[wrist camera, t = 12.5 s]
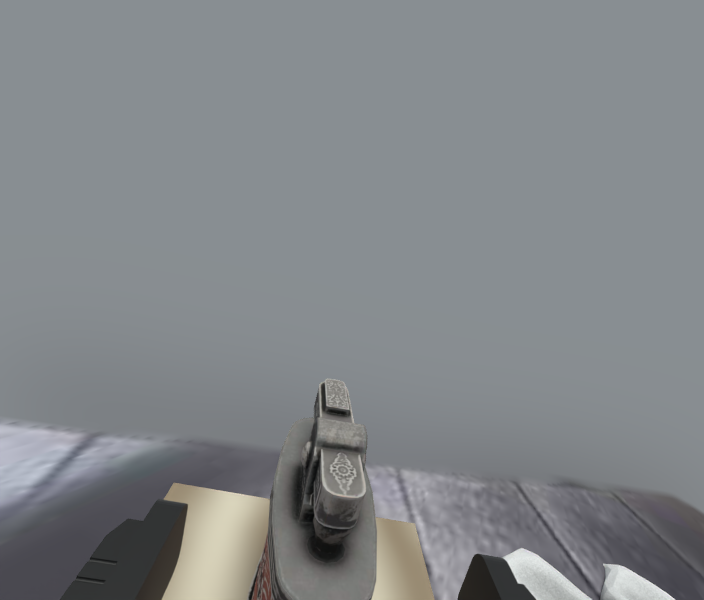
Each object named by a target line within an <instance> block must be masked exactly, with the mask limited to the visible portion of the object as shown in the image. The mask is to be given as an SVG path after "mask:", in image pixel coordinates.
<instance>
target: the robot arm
mask: <svg viewBox="0 0 704 600" xmlns="http://www.w3.org/2000/svg"><path fill="white" fill-rule="evenodd" d="M187 510H188V504H186V503H180V502H174V501H168V500H162V499H158V500H157V501H156V502H155V504H154V505H153V507H152V508H151V510H150V511H149V513H148V514H147V516H146V518H145V519H144V521H139V520H133V519H127V520H126V521H124V522H123V523H122V524H120V525H119V526H118V527H117V528H115V529H114V530H113V531H111V532H110V533H109V534H108V535H106V537H105V538H104V539H103V541H102V542H101V543H100V545H99V546H98V548H97V549H96V550H95V552H94V553H93V555H92V556H91V557H90V560H89V562H87V563H86V564H85V566H84V567H83V568H82V570H81V571H80V572H79V574H78V575H77V578H76V580H75V581H73V582H72V584H71V585H70V586H69V588H68V589H67V590H66V592H65V593H64V595H63V596H62V597H61V599H60V600H162V598H163V595H164V593H165V591H166V589H167V587H168V584H169V582H170V580H171V578H172V575H173V573H174V570H175V568H176V565H177V562H178V558H179V555H180V551H181V546H182V540H183V534H184V528H185V522H186V516H187ZM458 600H536V599H535V597H534V596H533V595H532V594H531V593H530V591H529V590H528V589H527V588H526V586H525V585H524V584H519V583H518V582H517V580H516V578H515V576H514V574H513V572H512V570H511V568H510V566H509V564H508V563H507V561H506V560H505V559H503V558H499V557H493V556H487V555H481V554H476V555H474V557H473V559H472V561H471V564H470V566H469V569H468V572H467V574H466V577H465V579H464V582H463V584H462V587H461V590H460V592H459V595H458Z"/></svg>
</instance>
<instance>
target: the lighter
mask: <svg viewBox="0 0 704 600" xmlns="http://www.w3.org/2000/svg"><path fill="white" fill-rule="evenodd" d="M366 449H367V432H366V428H365V426H364V425H361V424H355V423H354V420H353V415H352V409H351V404H350V398H349V393H348V390H347V388H346V387H345V384H344V383H343V382H342V381H339V380H333V379H326V380H325V382H322V383H320V385H319V389H318V393H317V397H316V401H315V405H314V418H304V419H301V420H299V421H296V422H295V423H294V424H293V425H292V427H291V429H290V431H289V434H288V436H287V438H286V441H285V442H284V445H283V447H282V450H281V454H280V458H279V462H278V466H277V470H276V474H275V478H274V482H273V486H272V491H271V495H270V505H269V522H268V532H267V537H266V541H265V545H264V549H263V552H262V554H261V557H260V560H259V562H258V565H257V568H256V571H255V573H254V576H253V579H252V581H251V584H250V588H249V592H248V596H247V600H371V599H372V596H373V592H374V588H375V584H376V574H377V526H376V517H375V509H374V500H373V492H372V488H371V485H370V482H369V478H368V475H367V471H366V468H365V461H366Z"/></svg>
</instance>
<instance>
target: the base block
mask: <svg viewBox="0 0 704 600" xmlns="http://www.w3.org/2000/svg"><path fill="white" fill-rule="evenodd" d="M164 500H168V501H174V502H180V503H186V504H188V510H187V516H186V522H185V528H184V534H183V540H182V546H181V551H180V555H179V558H178V562H177V565H176V568H175V570H174V573H173V575H172V578H171V580H170V582H169V584H168V587H167V589H166V591H165V593H164V595H163V598H162V600H247V596H248V592H249V588H250V584H251V581H252V579H253V576H254V573H255V571H256V568H257V565H258V562H259V560H260V557H261V554H262V552H263V549H264V545H265V541H266V537H267V532H268V522H269V505H270V499H266V498H260V497H255V496H249V495H243V494H237V493H231V492H225V491H219V490H213V489H208V488H202V487H196V486H190V485H184V484H178V483H173V485H172V487H171V488H170V490H169V492H168V493H167V495H166V497H165V498H164ZM376 526H377V574H376V584H375V588H374V592H373V596H372V599H371V600H434V596H433V592H432V589H431V585H430V581H429V577H428V573H427V569H426V565H425V562H424V558H423V554H422V550H421V546H420V542H419V538H418V535H417V531H416V527H415V524H413V523H407V522H401V521H396V520H390V519H384V518H378V517H376Z"/></svg>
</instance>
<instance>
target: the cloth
mask: <svg viewBox="0 0 704 600" xmlns="http://www.w3.org/2000/svg"><path fill="white" fill-rule="evenodd" d="M502 558H503V559H505V560H506V561H507V563H508V564H509V566H510V568H511V570H512V572H513V574H514V576H515V578H516V580H517V582H518V583H519V584H524V585H525V586H526V588H527V589H528V590H529V591H530V593H531V594H532V595H533V596H534V597H535V599H536V600H592V599H591V598H589V597H588V596H587V595H585V594H584V593H583V592H582V591H580V590H579V589H578V588H577V587H576V586H575V585H573V584H572V583H571V582H570V581H569V580H568V579H566V578H565V577H564V576H563V575H562V574H561V573H560V572H558V571H557V570H556V569H555V568H554V567H552V566H551V565H550V564H548V563H547V562H546V561H545V560H543V559H542V558H541V557H539V556H538V555H537V554H535V553H532V552H530V551H528V550H526V549H523V548H521V549H518V550H516V551H515V552H513V553H511V554H509V555H507V556H504V557H502ZM603 565H604V567H605V577H606V578H605V582H604V585H603V589H602V592H601V598H600V600H675V599H674V598H673V597H671V596H670V595H669V594H667V593H666V592H664V591H663V590H661V589H660V588H658V587H657V586H655V585H654V584H652V583H651V582H649V581H647V580H646V579H644V578H642V577H641V576H639V575H637V574H636V573H634V572H632V571H631V570H629V569H627V568H626V567H623V566H619V565H612V564H603Z"/></svg>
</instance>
